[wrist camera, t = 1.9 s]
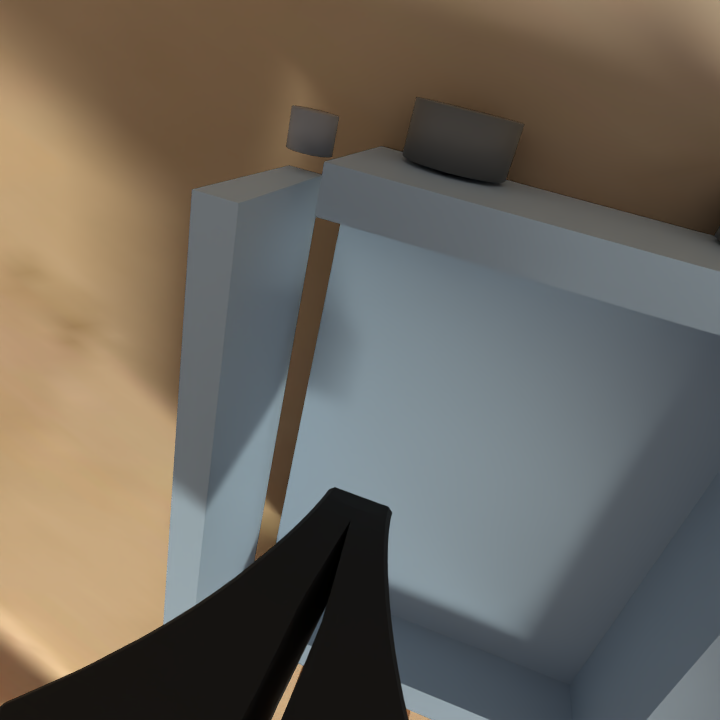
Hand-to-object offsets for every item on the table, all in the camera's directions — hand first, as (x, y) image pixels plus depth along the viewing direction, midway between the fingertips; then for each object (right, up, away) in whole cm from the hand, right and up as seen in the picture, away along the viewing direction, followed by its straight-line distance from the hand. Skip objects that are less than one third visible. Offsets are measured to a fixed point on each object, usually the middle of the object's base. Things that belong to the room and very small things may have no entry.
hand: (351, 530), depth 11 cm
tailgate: (-2, +2, +3) cm, 5 cm away
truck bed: (+4, +1, +5) cm, 6 cm away
